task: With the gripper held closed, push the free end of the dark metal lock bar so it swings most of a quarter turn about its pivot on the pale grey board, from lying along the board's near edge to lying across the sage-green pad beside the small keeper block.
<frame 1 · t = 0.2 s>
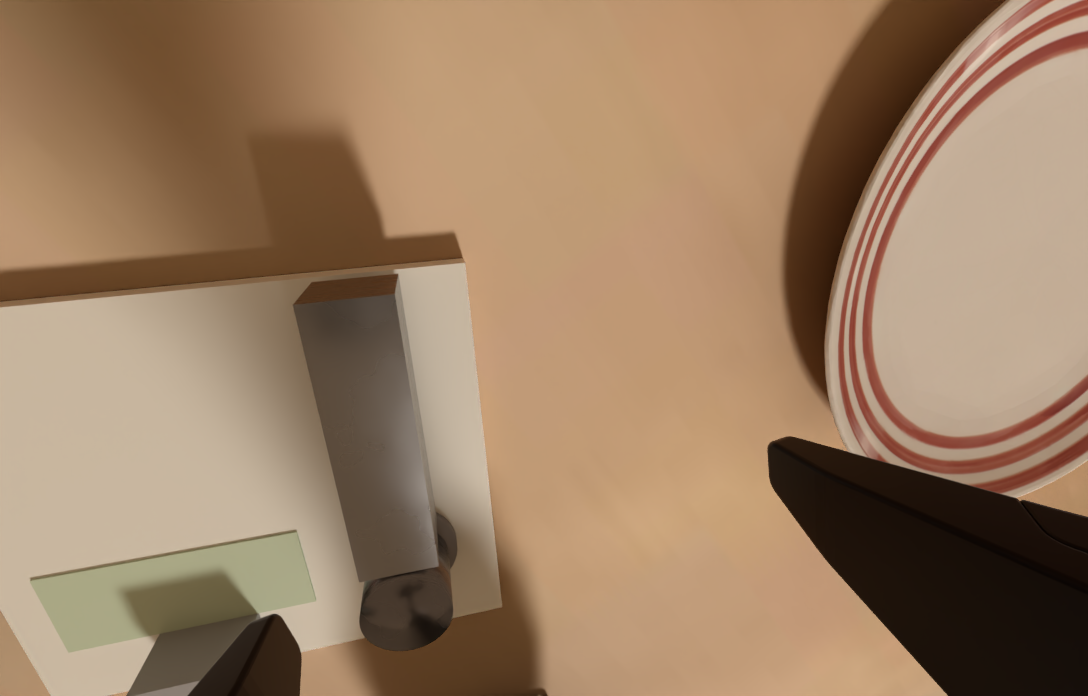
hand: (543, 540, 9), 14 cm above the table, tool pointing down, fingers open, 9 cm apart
dinner plate: (1004, 260, 28), on the table
door board: (254, 485, 22), on the table
lock bar: (386, 475, 20), point 3 cm above the table, hinge at 0.0°
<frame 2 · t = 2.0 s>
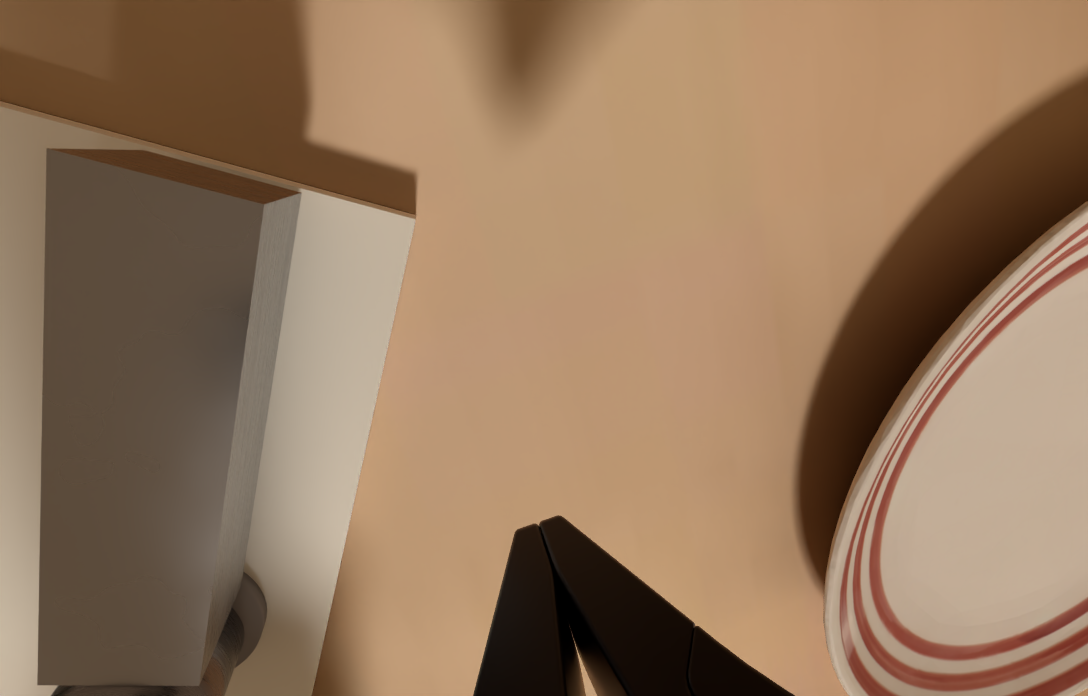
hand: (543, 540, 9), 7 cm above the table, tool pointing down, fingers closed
dinner plate: (1035, 452, 24), on the table
lock bar: (163, 508, 12), point 3 cm above the table, hinge at 0.0°
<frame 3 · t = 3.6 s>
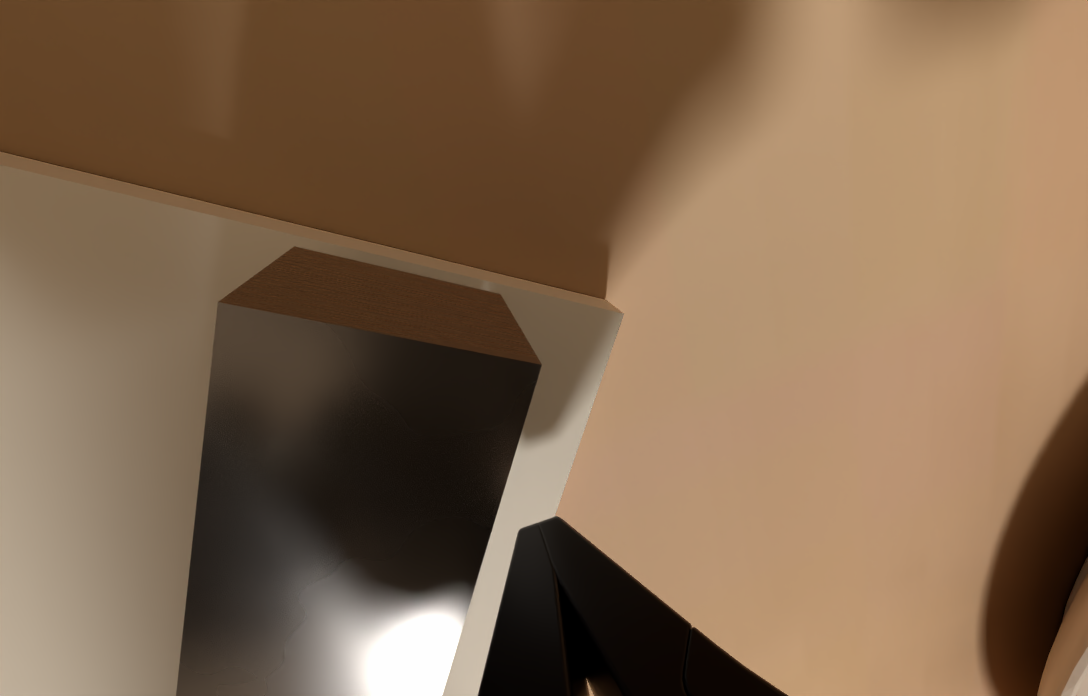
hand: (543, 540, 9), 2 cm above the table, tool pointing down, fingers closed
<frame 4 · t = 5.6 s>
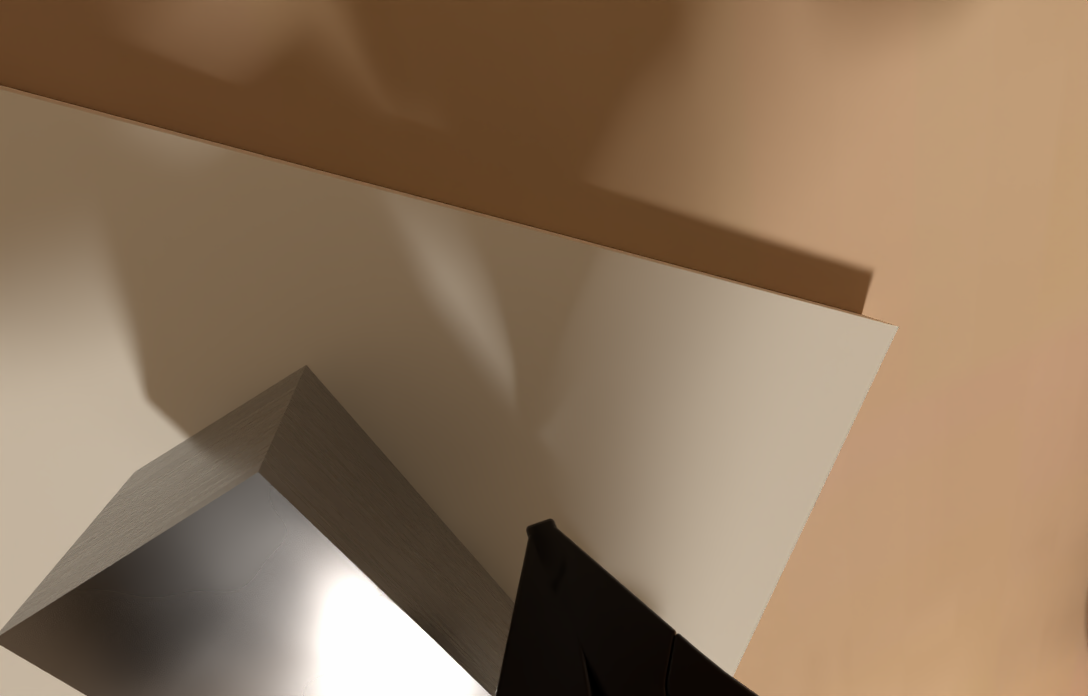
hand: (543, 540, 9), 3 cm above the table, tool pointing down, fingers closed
door board: (381, 599, 12), on the table
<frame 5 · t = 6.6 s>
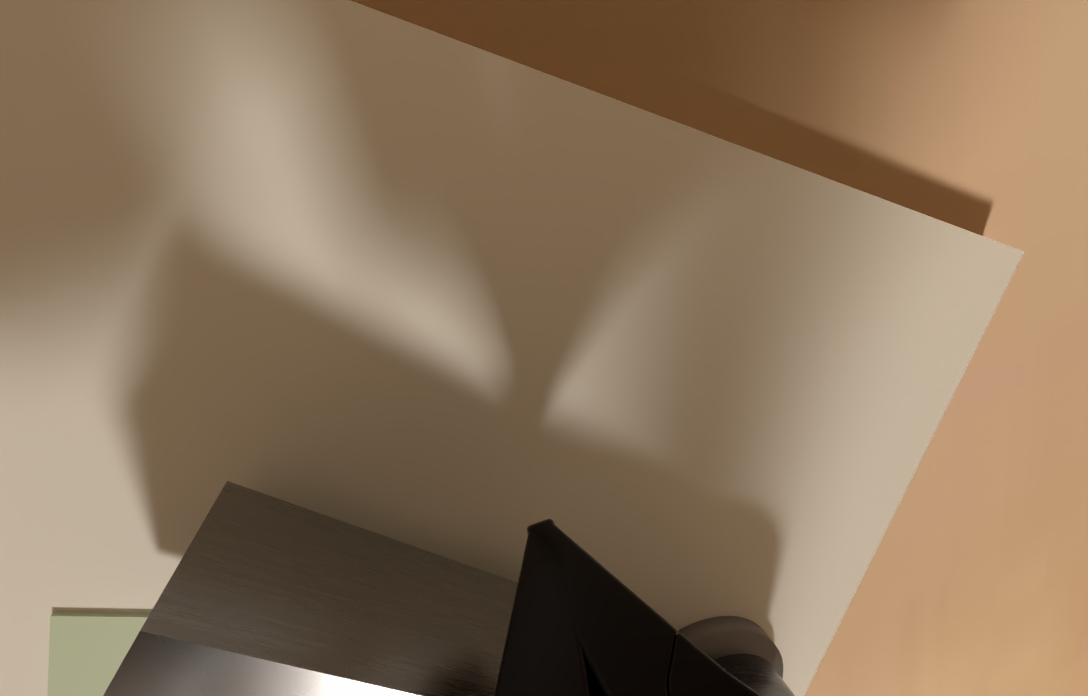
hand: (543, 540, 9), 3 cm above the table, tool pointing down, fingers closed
door board: (524, 517, 12), on the table
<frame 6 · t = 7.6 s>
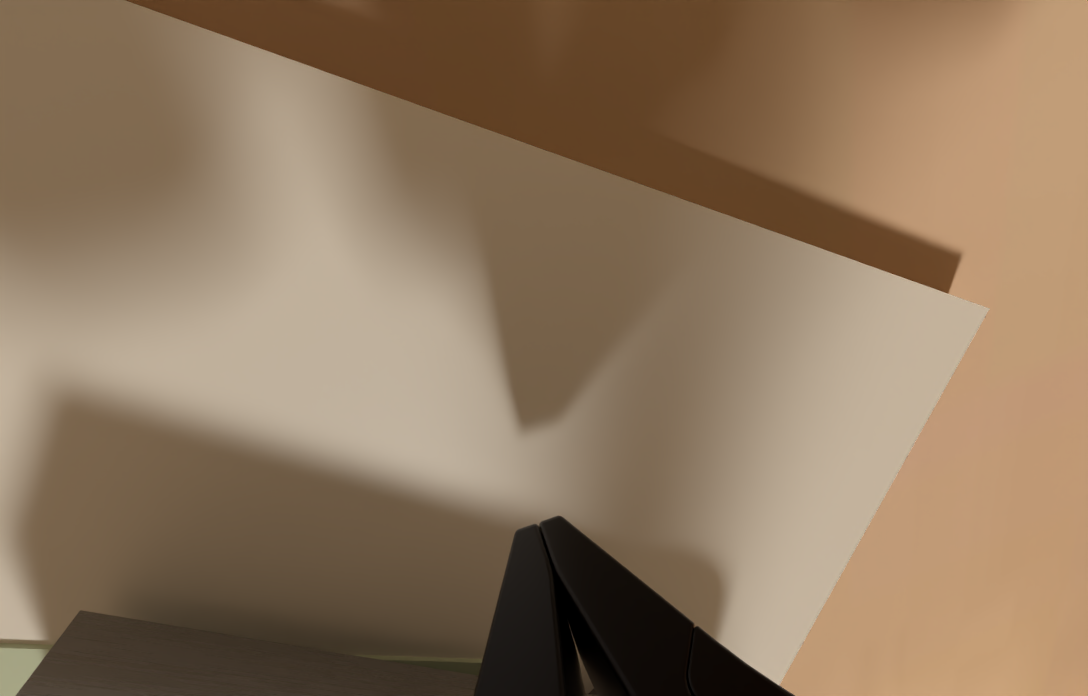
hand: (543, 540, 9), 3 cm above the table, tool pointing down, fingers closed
door board: (462, 555, 12), on the table
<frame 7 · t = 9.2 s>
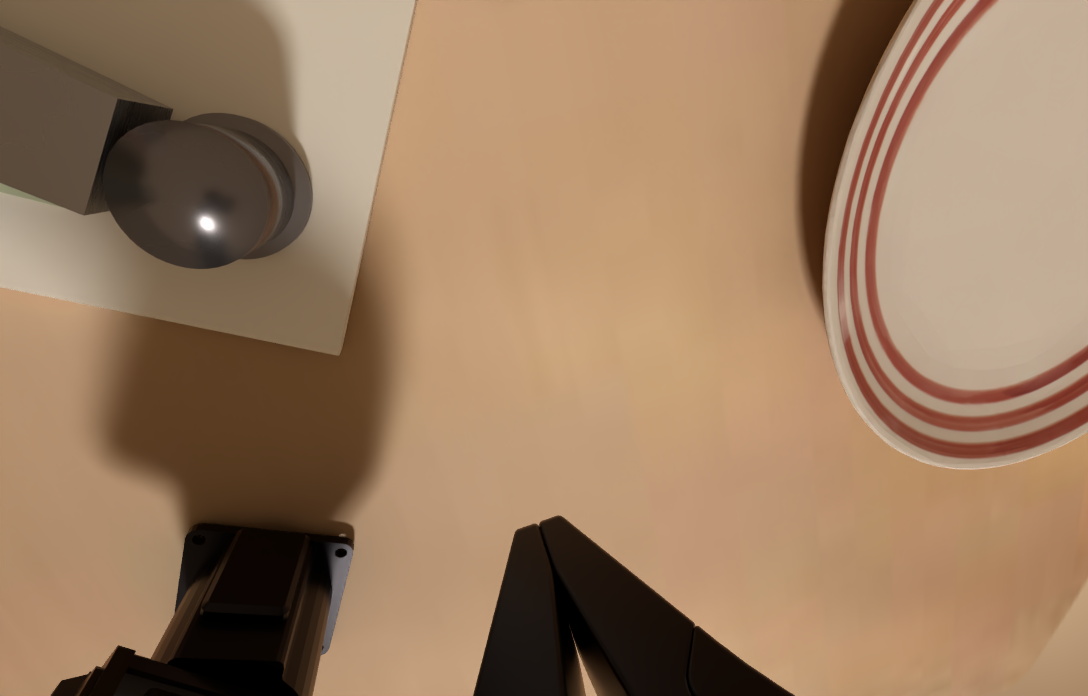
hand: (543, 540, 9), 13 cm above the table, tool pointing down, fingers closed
dinner plate: (1022, 193, 25), on the table
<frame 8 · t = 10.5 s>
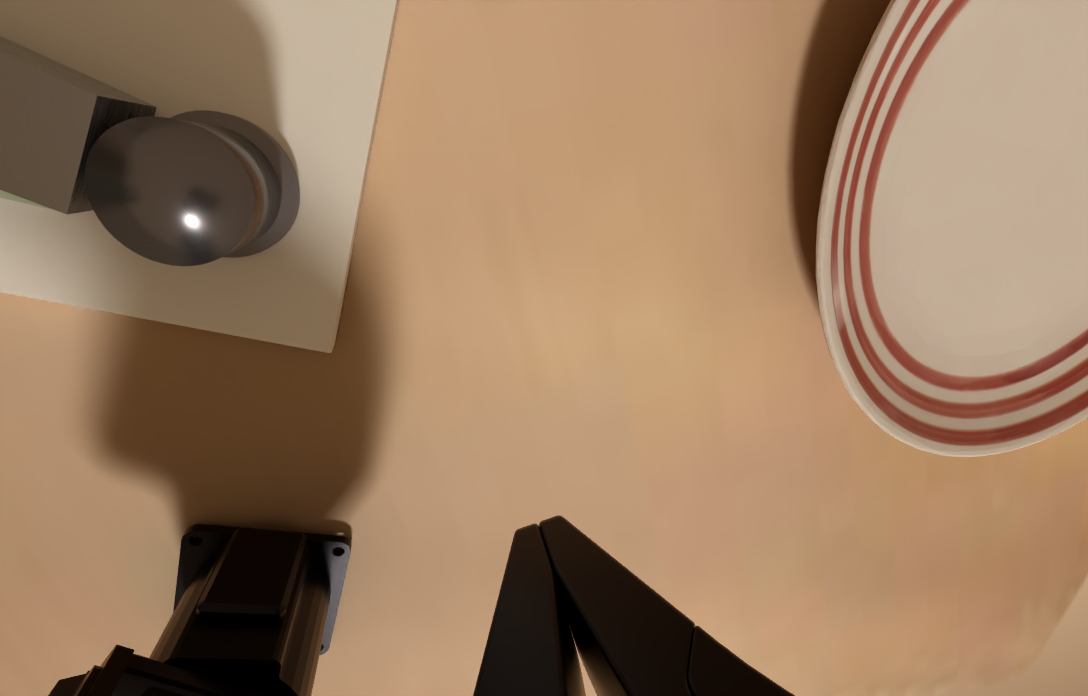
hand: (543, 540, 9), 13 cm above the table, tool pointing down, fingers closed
dinner plate: (1017, 177, 25), on the table
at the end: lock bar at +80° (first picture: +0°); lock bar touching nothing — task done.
